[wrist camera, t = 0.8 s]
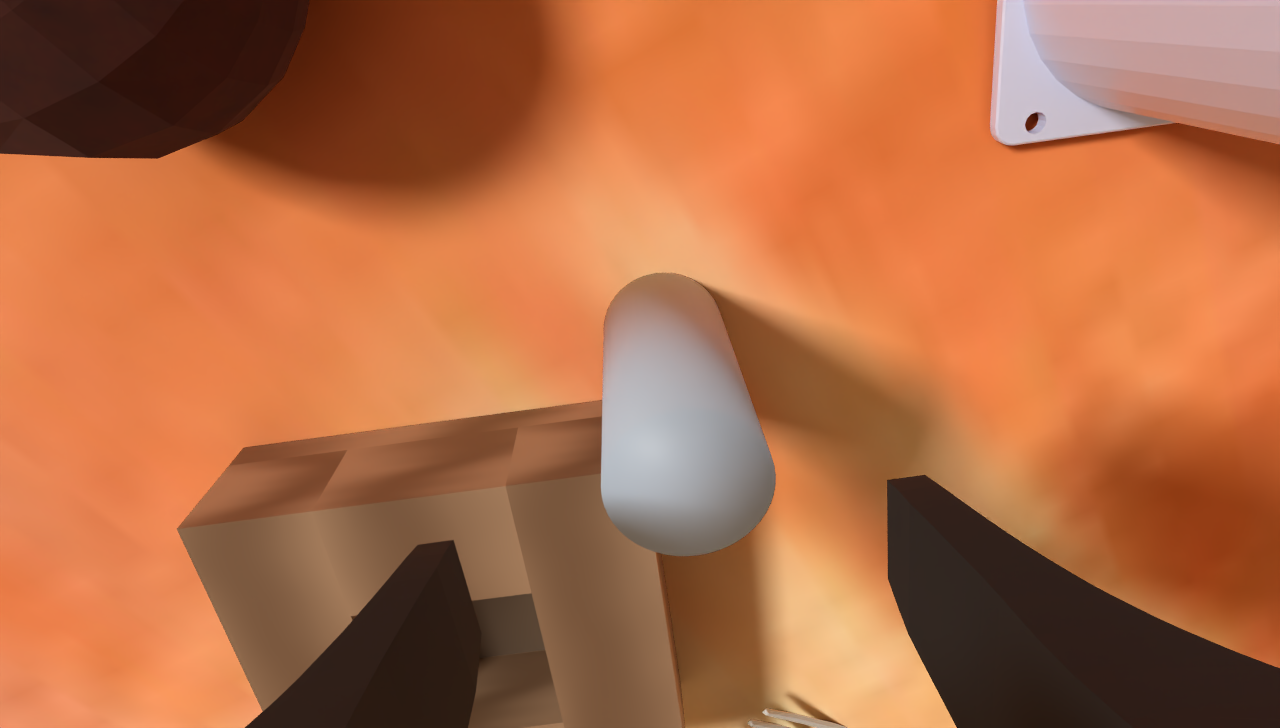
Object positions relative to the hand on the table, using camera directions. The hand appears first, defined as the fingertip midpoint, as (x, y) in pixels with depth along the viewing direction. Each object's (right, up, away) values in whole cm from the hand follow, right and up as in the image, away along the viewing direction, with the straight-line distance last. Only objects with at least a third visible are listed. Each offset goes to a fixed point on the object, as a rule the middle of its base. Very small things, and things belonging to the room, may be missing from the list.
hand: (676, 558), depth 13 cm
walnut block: (-6, -4, +13) cm, 15 cm away
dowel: (0, +4, +9) cm, 10 cm away
